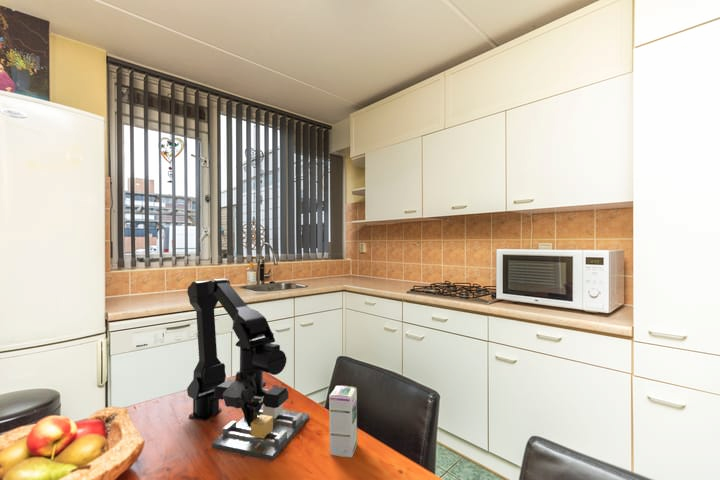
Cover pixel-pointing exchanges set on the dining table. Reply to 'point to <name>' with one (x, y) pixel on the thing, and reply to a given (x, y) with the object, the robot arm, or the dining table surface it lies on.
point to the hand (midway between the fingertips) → (251, 426)
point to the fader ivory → (272, 411)
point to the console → (242, 442)
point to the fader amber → (261, 426)
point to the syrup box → (343, 421)
